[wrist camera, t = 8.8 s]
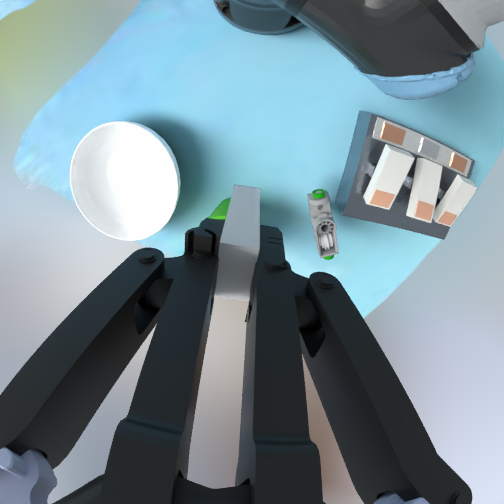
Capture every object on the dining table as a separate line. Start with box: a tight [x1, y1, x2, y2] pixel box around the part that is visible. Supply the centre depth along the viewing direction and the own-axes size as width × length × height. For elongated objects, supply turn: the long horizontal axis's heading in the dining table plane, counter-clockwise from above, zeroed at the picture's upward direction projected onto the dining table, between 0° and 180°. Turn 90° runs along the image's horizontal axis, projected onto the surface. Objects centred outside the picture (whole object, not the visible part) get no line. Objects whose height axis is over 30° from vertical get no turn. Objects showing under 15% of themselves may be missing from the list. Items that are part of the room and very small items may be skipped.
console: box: [335, 111, 475, 240], centre depth 37 cm, size 16×22×6 cm
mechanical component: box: [307, 189, 338, 260], centre depth 39 cm, size 3×10×10 cm, turn 15°
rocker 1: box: [363, 144, 415, 210], centre depth 33 cm, size 9×4×2 cm, turn 171°
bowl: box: [70, 121, 181, 240], centre depth 39 cm, size 20×20×6 cm
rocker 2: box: [406, 158, 443, 223], centre depth 34 cm, size 9×4×2 cm, turn 171°
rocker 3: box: [433, 174, 478, 227], centre depth 34 cm, size 9×4×2 cm, turn 170°
